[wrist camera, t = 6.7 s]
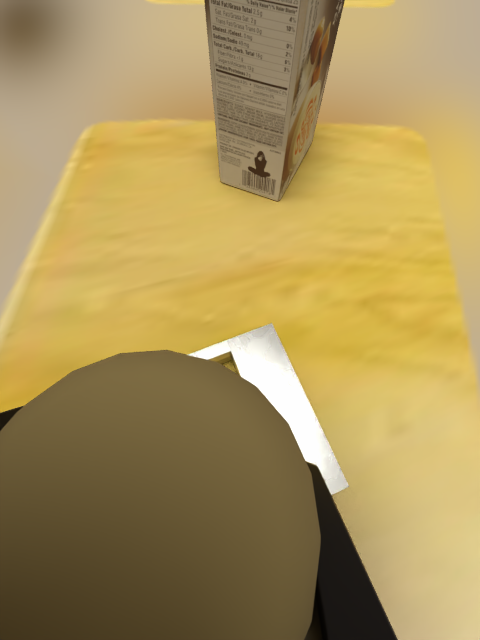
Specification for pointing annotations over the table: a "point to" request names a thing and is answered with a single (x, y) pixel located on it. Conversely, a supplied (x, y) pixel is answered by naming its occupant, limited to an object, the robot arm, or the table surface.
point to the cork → (155, 508)
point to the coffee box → (268, 85)
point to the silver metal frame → (280, 393)
